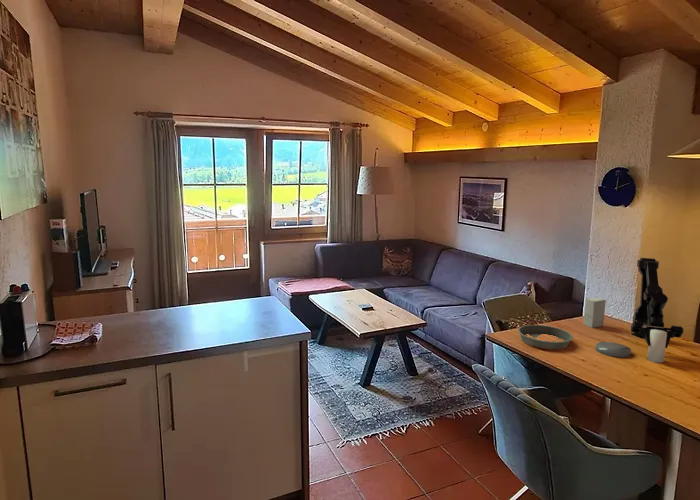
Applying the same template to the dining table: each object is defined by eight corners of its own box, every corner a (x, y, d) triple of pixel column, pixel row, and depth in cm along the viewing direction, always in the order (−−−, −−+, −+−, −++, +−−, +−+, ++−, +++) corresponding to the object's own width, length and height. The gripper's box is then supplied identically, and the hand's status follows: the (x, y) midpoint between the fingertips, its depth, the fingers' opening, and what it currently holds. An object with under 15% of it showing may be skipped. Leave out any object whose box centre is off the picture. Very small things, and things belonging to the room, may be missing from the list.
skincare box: (594, 323, 250) (597, 296, 248) (603, 326, 245) (606, 299, 242) (582, 324, 247) (585, 298, 245) (591, 328, 242) (594, 300, 239)
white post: (653, 356, 204) (656, 328, 202) (666, 361, 199) (670, 333, 197) (643, 358, 202) (647, 330, 200) (657, 363, 197) (660, 334, 194)
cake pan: (530, 351, 210) (530, 342, 209) (509, 333, 234) (510, 324, 234) (582, 351, 211) (583, 341, 210) (557, 332, 235) (557, 324, 235)
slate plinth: (611, 344, 219) (611, 340, 218) (638, 355, 206) (638, 351, 205) (588, 348, 214) (589, 343, 214) (614, 359, 201) (615, 354, 201)
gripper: (675, 326, 209) (678, 358, 201) (627, 320, 216) (629, 351, 208) (682, 314, 200) (685, 346, 192) (632, 309, 208) (634, 340, 199)
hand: (657, 346), depth 198 cm, fingers closed on white post, 6 cm apart
